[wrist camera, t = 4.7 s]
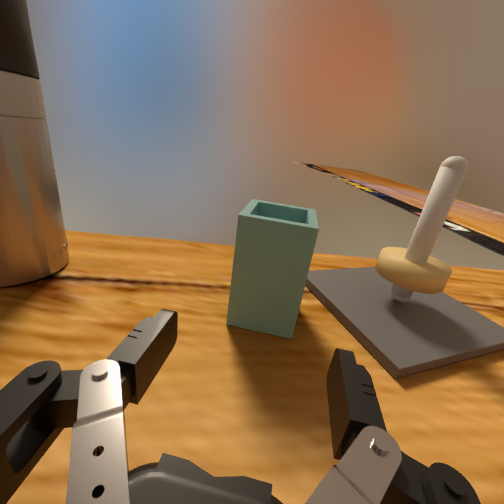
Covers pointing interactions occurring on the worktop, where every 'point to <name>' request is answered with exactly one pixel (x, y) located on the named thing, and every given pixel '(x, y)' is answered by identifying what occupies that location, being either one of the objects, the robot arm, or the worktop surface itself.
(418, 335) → the pipe stand
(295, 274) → the sleeve
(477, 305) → the worktop surface
